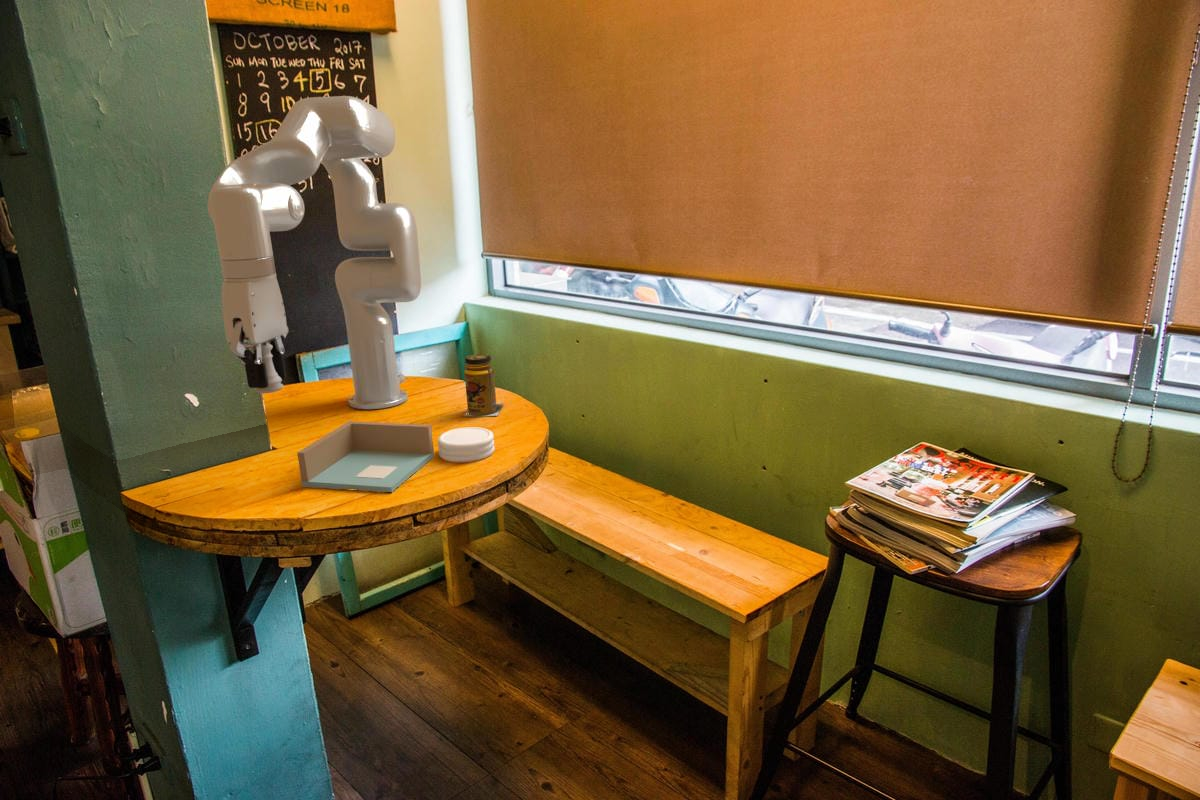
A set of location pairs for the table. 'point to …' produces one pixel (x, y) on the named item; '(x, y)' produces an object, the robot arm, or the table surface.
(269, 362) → the rook chess piece
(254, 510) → the table surface
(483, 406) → the condiment
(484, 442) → the white round container
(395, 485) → the corner arena
